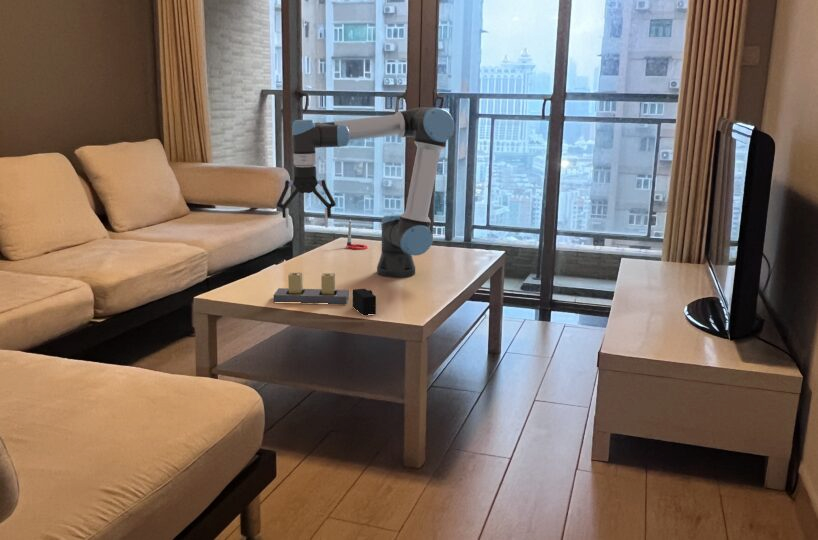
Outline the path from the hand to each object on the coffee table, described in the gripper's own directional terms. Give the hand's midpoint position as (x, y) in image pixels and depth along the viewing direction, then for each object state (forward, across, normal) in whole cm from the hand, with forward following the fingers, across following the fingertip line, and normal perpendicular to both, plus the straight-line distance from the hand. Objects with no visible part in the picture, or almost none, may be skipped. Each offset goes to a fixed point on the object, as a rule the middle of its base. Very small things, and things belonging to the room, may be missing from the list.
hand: (307, 226), depth 267 cm
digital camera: (+24, +21, -28) cm, 42 cm away
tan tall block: (+22, -3, -16) cm, 27 cm away
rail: (+23, +2, -16) cm, 28 cm away
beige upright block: (+22, +8, -16) cm, 29 cm away
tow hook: (+24, +14, +76) cm, 81 cm away
